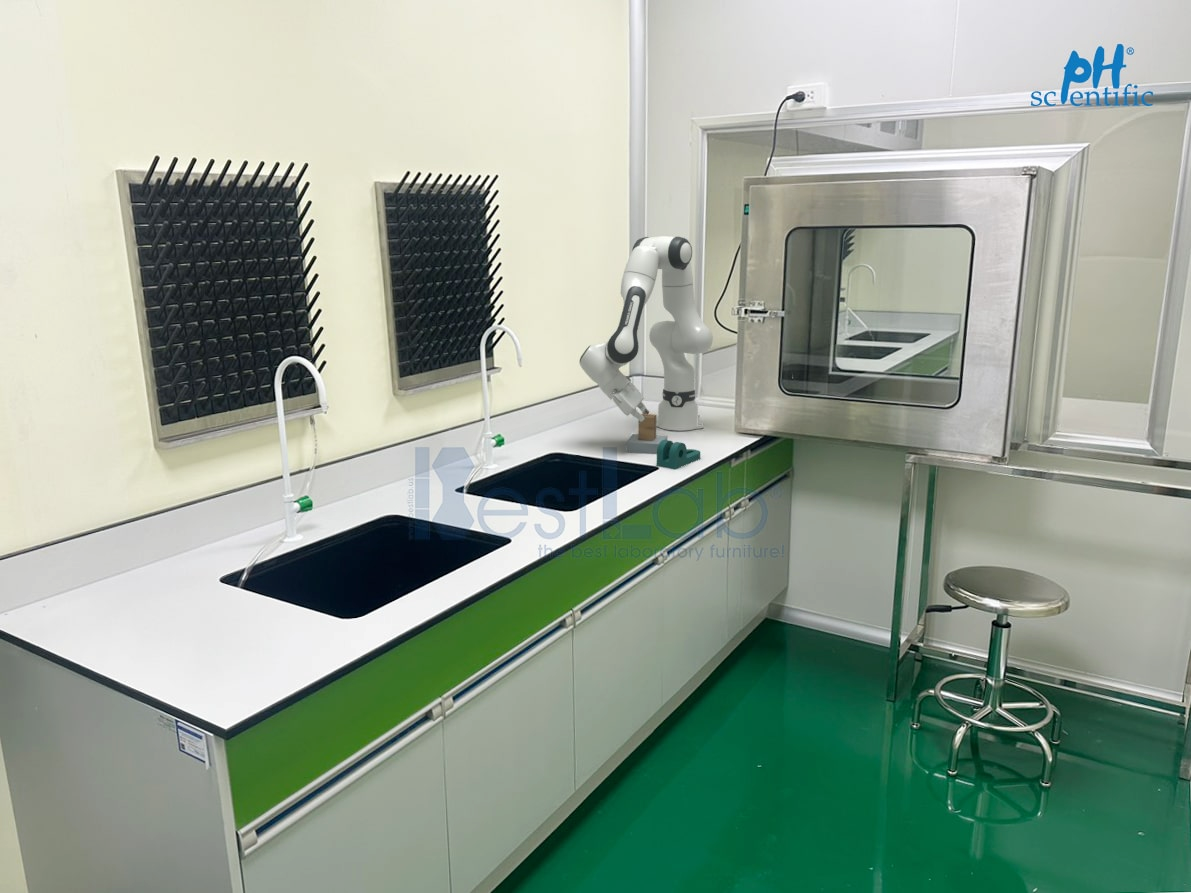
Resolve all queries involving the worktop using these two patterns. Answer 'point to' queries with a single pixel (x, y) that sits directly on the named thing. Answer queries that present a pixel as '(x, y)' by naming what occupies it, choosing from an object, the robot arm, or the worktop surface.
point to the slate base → (643, 444)
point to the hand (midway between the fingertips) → (645, 417)
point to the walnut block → (647, 428)
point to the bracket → (675, 454)
